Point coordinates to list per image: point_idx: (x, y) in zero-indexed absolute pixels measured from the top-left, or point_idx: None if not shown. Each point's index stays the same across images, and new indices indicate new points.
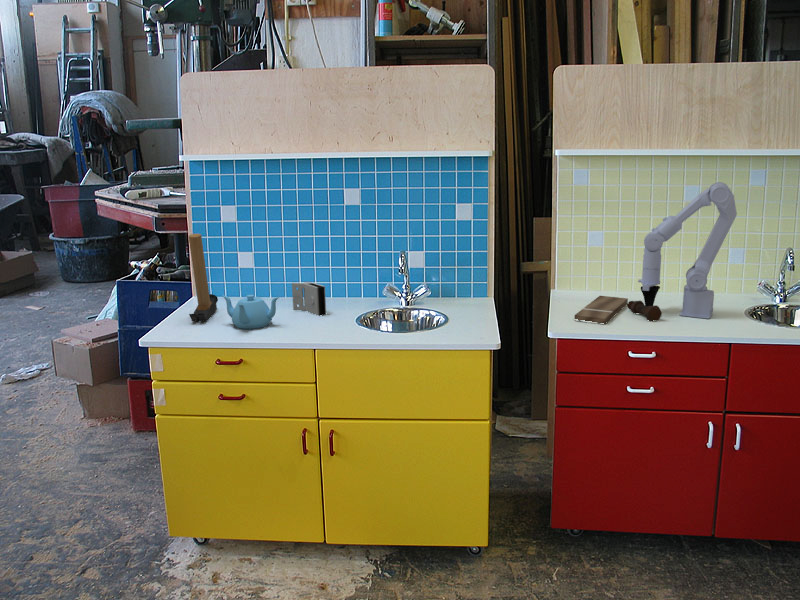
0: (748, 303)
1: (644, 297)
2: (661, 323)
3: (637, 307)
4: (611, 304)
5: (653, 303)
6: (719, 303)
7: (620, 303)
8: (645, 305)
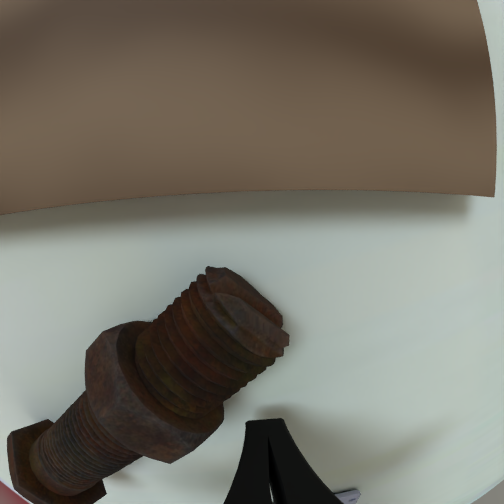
0: (463, 500)
1: (227, 498)
2: None
3: (84, 407)
4: (120, 82)
5: (270, 480)
6: (469, 478)
7: (235, 169)
8: (108, 468)
